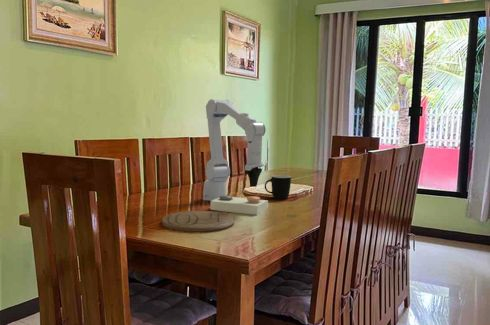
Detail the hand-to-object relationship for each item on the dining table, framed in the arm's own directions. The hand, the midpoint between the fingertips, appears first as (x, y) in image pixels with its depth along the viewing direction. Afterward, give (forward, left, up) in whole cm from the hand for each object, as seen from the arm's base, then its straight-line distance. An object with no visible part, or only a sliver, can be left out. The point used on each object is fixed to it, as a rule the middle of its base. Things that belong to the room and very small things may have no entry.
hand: (253, 186), depth 177 cm
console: (-5, -2, -10) cm, 11 cm away
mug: (+1, +29, -10) cm, 30 cm away
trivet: (-9, -29, -10) cm, 32 cm away
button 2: (+1, -2, -8) cm, 8 cm away
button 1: (-11, -2, -8) cm, 14 cm away
